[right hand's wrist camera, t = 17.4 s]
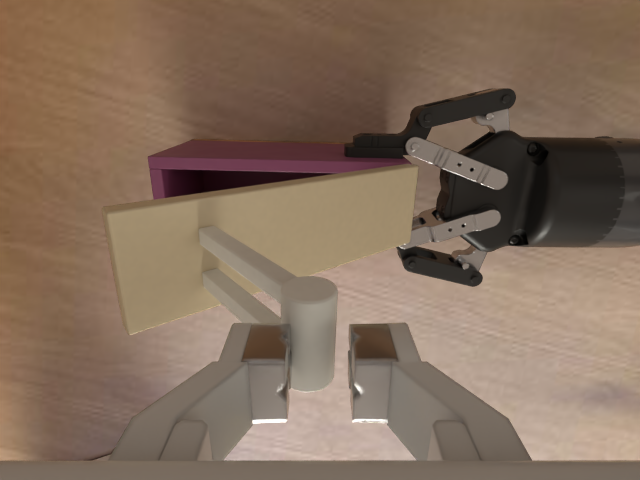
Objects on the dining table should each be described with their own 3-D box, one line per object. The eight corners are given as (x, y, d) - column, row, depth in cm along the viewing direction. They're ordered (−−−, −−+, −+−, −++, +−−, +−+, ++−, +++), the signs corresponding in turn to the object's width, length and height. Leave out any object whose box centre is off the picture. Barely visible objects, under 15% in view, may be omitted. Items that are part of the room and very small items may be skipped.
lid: (122, 326, 15) (214, 484, 9) (100, 206, 14) (195, 306, 7) (399, 238, 25) (530, 287, 19) (407, 163, 23) (555, 191, 17)
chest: (198, 196, 34) (157, 232, 25) (193, 138, 32) (147, 156, 24) (383, 201, 34) (403, 238, 25) (387, 143, 32) (411, 162, 24)
